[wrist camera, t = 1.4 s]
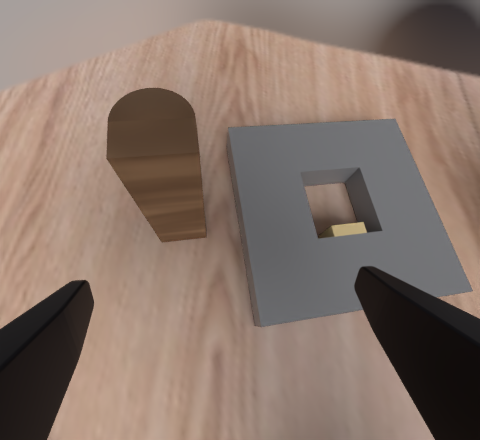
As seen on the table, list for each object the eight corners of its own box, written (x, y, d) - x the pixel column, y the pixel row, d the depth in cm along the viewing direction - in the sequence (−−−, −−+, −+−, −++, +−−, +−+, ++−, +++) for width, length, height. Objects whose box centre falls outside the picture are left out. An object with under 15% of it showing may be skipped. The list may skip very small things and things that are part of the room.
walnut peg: (206, 237, 24) (199, 152, 12) (161, 242, 23) (106, 158, 11) (202, 198, 25) (191, 86, 13) (160, 202, 25) (109, 89, 13)
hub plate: (442, 294, 24) (473, 291, 21) (254, 326, 21) (261, 326, 19) (378, 137, 30) (395, 118, 27) (226, 147, 28) (228, 127, 25)
